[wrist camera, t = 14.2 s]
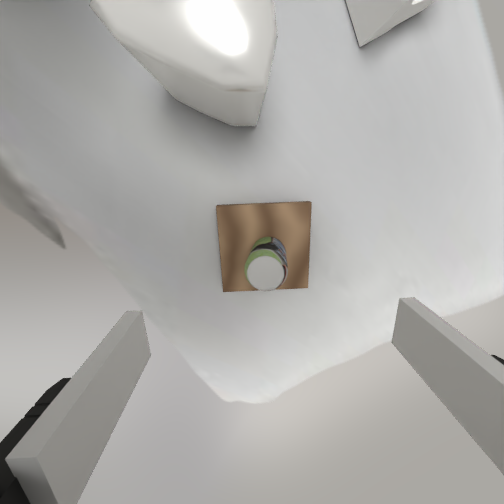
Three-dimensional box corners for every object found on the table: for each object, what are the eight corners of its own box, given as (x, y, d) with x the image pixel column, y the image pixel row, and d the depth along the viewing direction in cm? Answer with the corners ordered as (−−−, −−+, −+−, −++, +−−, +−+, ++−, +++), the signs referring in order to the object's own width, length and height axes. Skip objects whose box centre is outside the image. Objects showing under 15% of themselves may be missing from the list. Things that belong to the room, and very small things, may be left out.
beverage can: (277, 271, 45) (288, 305, 34) (239, 259, 44) (237, 290, 33) (290, 240, 43) (306, 265, 32) (250, 226, 42) (253, 248, 31)
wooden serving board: (224, 282, 50) (223, 291, 46) (218, 203, 45) (216, 206, 41) (303, 278, 50) (307, 287, 46) (305, 199, 45) (311, 202, 41)
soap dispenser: (236, 6, 36) (225, -220, 15) (292, 94, 40) (347, 12, 19) (161, 81, 39) (65, -22, 18) (221, 157, 42) (200, 146, 22)
